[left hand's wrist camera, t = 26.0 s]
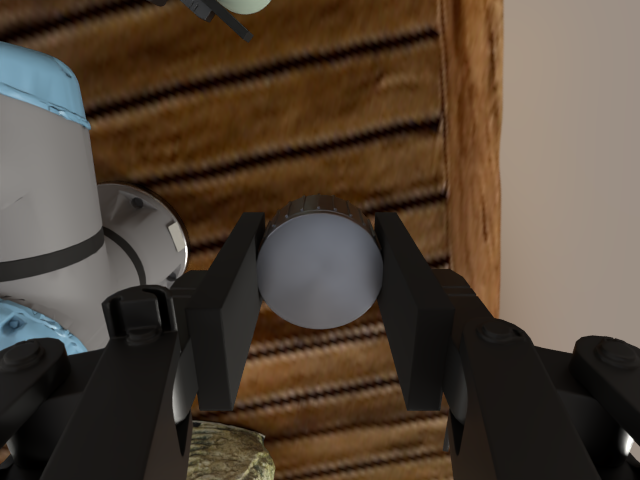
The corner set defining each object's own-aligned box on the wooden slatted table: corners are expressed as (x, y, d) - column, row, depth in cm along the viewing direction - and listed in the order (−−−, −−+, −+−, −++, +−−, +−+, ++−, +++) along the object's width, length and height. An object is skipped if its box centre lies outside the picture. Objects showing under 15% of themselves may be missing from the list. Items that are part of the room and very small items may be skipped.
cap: (294, 171, 13) (289, 186, 11) (398, 225, 14) (412, 249, 12) (244, 269, 15) (232, 298, 12) (342, 313, 15) (345, 348, 13)
